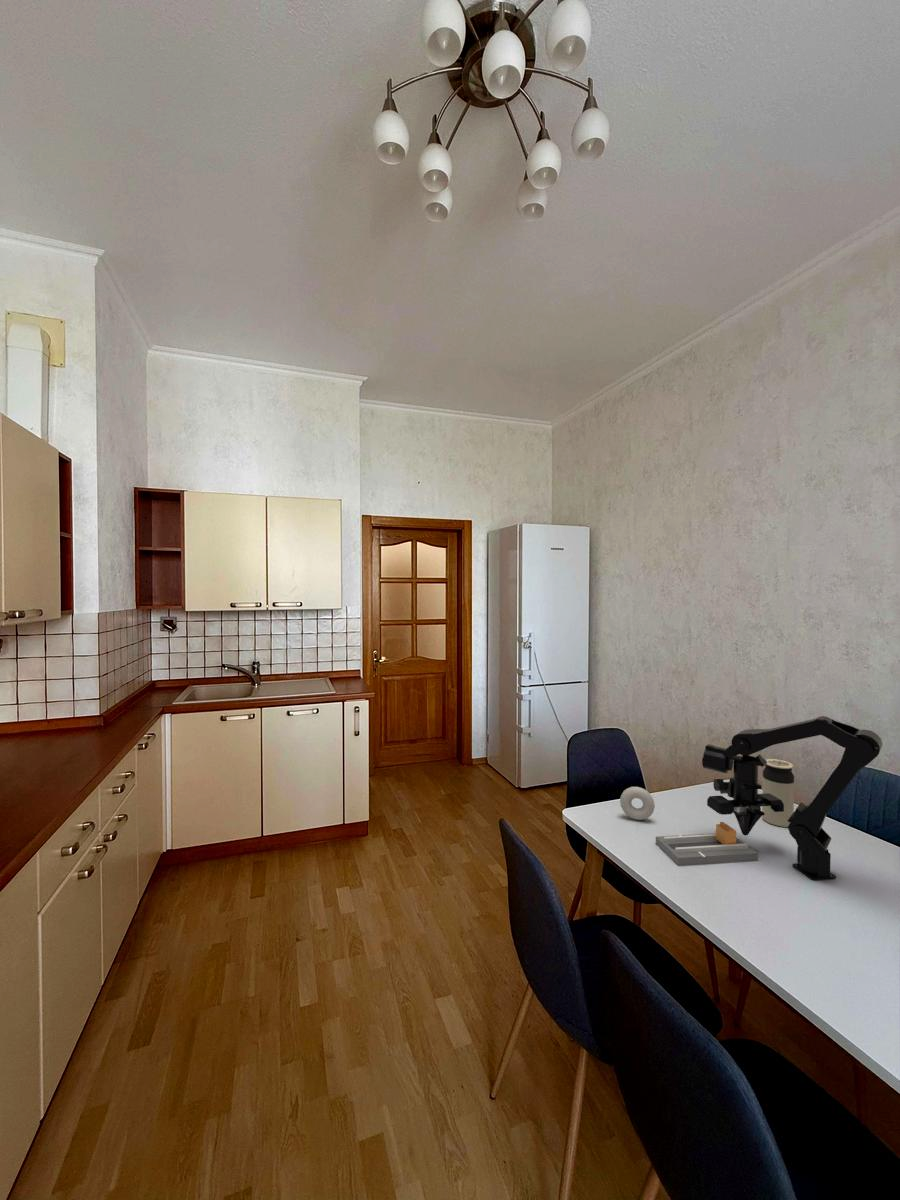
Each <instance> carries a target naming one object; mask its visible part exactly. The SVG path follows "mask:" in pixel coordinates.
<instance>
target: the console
mask: <svg viewBox="0 0 900 1200" xmlns="http://www.w3.org/2000/svg"><path fill="white" fill-rule="evenodd" d="M656 844H657V845H658V846H659V847H660V848H659V847H658V846H657V845H656ZM655 845H656V846H657V847H658V848H659V849H661V851H662V852H663V853H664V854H665V855H667V856H668V858H670V859H671V861H673V863H675V864H676V866H678V867H680V866H693V865H696V866H697V865H711V864H724V863H725V864H726V863H740V862H756V861H759V858H758V857H759V854H758V853H759V852H757V851H755V850H754V849H753V848H752V847H751V846H749V844H748V843H747V842H746V843H745V842H743V841H742V840H741V839H739V838H738V837H736V844H727V845H723V844H722V843H721V842H719V841H718V840H717V839H716V832H713V833H711V832H710V833H696V834H679V833H678V834H677V835H661V836H655Z"/></svg>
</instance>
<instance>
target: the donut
mask: <svg viewBox="0 0 900 1200" xmlns="http://www.w3.org/2000/svg"><path fill="white" fill-rule="evenodd" d="M634 799H638V800H640V801H641V802H642V806H641V807H639V808H638V807H635V806H633V803H632V801H633V800H634ZM654 800H655V799H654V798H653V796H652V794H650V792H649V791H648V790H646V789H645V788H642V787H639V786H630V787H628V788H626V789H624V790H623V792H622V793H621V795H620V800H619V803H620V807H621V810H622V812H623V813H624V814H625V815H626V816H628V817H629V818H631V819H632V820H636V821H644V820H646V819H647V820H648V818H650V817H652V815H653V813H654V811H655V807H656V805H655V801H654Z"/></svg>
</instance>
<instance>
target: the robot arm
mask: <svg viewBox="0 0 900 1200" xmlns="http://www.w3.org/2000/svg"><path fill="white" fill-rule="evenodd" d="M818 736H821V737H824V738H827V739H828V740H830V741H831V742H833V743H834V744H836V745H838V746H839V747H842V748H844V751H843V754H842V757H841V759H840V762H839V763H838V764H837V766H836V768H834V770H833V771H832V773H831V774H830V775H829V777H828V778H827V780H826V781H825V783H824V784H823V786H822V787H821V788H820V790H819V791H818V793H817V794H816V795H815V797H814V798H813V800H812V801H811V802H809V804H807V805H806V804H805V803H803V802H802V801H800V802H799V804H798V806H797V807H796V808H795V809H794V812H793V814H792V815H791V816H790V818H789V819H788V822H790V824H789V826H788V827H787V830H788V832H789V835H790V836H791V837H792V838H793V839H794V840H795V843H796V844H797V852H796V855H797V856H796V858H797V859H796V862H795V863H794V862H793V863H792V867H793V868H795V869H796V870H798V871H799V872H801V873H802V874H803V875H805V876H806V877H808V878H809V879H811V880H813V881H818V880H833V879H837V876H836V875H835V874H833V872H831V858H832V856H831V855H832V854H831V853H830V852H829V849H828V847H829V845H830V843H831V841H832V837H831V836H830V834H828V832H827V831H825V830H824V828H823V824H824V823H825V820H826V817H827V814H828V813H829V812H830V810H831V809H832V807H833V806H834V805H835V803H837V800H839V798H840V796H841V795H842V794H843V792H844V791H845V789H847V787H848V786H849V784H850V783H851V782H852V780H853V778H855V776H856V775H857V773H859V772H860V771H861V770H863V769H864V768H865V767H866V766H868V765H869V764H870V763H871V762H873V760H875V759H876V758H877V757H878V756H879V754H880V752H881V749H882V747H883V740H882V738H881V737H880V736H879V734H878V733H876V732H874V731H872V730H869V729H860V728H857V727H855V726H853V725H850V724H846V723H843V722H840V721H836V720H834V719H832V718H831V717H828V716H825V715H822V716H821V715H820V716H818V717H816V718H812V719H808V720H803V721H799V722H794V723H790V724H786V725H780V726H777V727H773V728H767V729H765V728H762V729H761V728H754V729H753V728H752V729H744V730H741V731H738V733H737V734H735V735H733V736H732V739H731V742H730V743H731V745H729V746H728V747H726V748H725V747H719V746H715V745H713V744H710V743H709V744H707V745H705V747H704V749H705V750H704V751H703V756H702V757H701V764H702V765H701V766H702V768H703V769H705V770H706V769H707V770H710V771H714V772H718V773H721V774H727V773H728V772H729V771H730V772H732V771H733V777H730V778H729V781H724V779H722V778H714V779H713V785H712V786H713V790H714V791H715V792H719V793H720V795H710V796H708V797H707V801H706V805H707V807H709V808H710V809H712V810H713V811H715V812H716V813H717V814H718V815H733V814H734V816H735V819H736V821H737V823H738V826H739V829H740V832H741V834H742V835H743V836H748V835H749V834H750V833H751V831H752V830H753V828H754V826H755V825H756V823H757V822H758V821H759V820H760V819H761V817H762V816H763V815H764V814H765V813H764V812H762V809H761V808H762V806H771V809H772V810H773V811H774V812H784V803H783V802H782V800H780V799H779V798H777V797H775V796H773V795H771V794H769V793H766V794H762V793H759V790H762V784H760V783H759V767H765V765H766V764H767V761H766V759H765V758H764V757H762V755H761V754H760V753H759V752H761V751H762V750H765V749H767V748H768V747H772V746H775V745H779V744H785V743H790V742H793V741H798V740H804V739H808V738H809V739H810V738H812V737H813V738H814V737H818ZM755 753H759V754H757V756H753V754H755ZM740 755H741V756H740ZM723 794H727V796H728V798H732V799H727V798H726V797H724V796H723Z"/></svg>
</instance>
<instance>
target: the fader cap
mask: <svg viewBox="0 0 900 1200" xmlns="http://www.w3.org/2000/svg"><path fill="white" fill-rule="evenodd" d="M715 833H716V839H717V840H718V841H719V842H721V843H722V844H723V845H727V844H736V838H737V829H734V828H733V827H732V826H730V825H729V824H728V823H725V822H723V821H719V823H716V824H715Z"/></svg>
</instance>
